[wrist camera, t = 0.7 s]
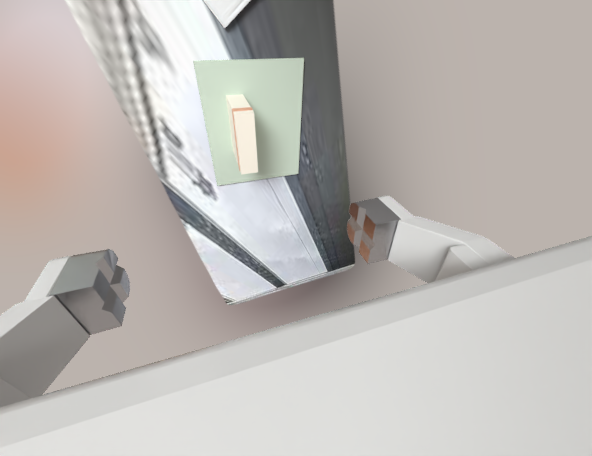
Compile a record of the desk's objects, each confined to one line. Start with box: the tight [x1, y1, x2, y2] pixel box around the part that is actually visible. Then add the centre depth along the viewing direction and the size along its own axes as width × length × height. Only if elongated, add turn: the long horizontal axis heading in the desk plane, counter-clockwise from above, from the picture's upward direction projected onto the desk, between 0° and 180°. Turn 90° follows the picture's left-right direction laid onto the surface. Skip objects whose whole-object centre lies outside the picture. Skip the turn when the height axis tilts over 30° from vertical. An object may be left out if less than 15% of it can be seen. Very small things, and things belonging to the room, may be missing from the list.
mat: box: [193, 58, 304, 186], centre depth 45 cm, size 20×16×1 cm
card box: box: [226, 94, 258, 175], centre depth 41 cm, size 9×3×8 cm, turn 178°
